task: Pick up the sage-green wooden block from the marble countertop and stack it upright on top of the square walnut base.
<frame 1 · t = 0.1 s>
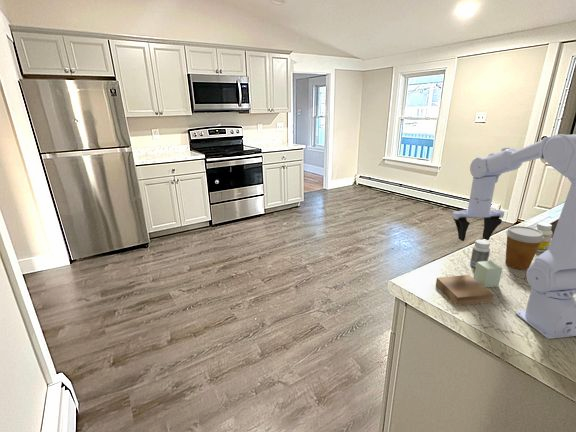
hand: (473, 239, 96), 10 cm above the worktop, tool pointing down, fingers open, 7 cm apart
sage block: (485, 282, 90), on the worktop
disposable coffee cup: (516, 265, 99), on the worktop
supplement bottle: (538, 249, 109), on the worktop
walnut base: (462, 293, 86), on the worktop
pill bottle: (478, 265, 100), on the worktop
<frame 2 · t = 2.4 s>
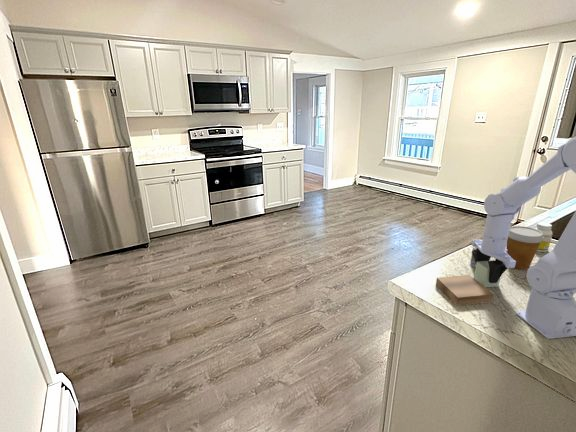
hand: (486, 277, 90), 2 cm above the worktop, tool pointing down, fingers closed on sage block, 4 cm apart
sage block: (485, 282, 90), on the worktop, touching gripper
everything else where it was.
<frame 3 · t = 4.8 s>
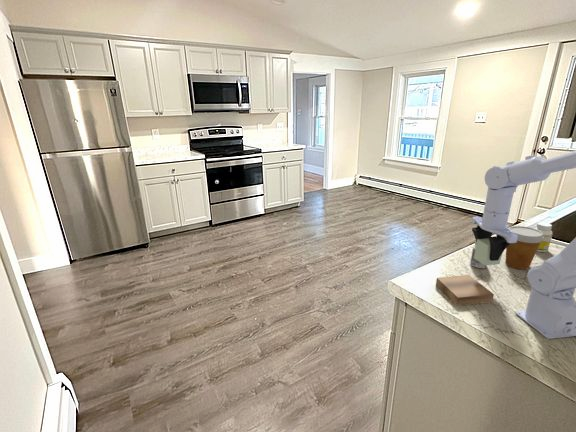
hand: (487, 255, 86), 9 cm above the worktop, tool pointing down, fingers closed on sage block, 4 cm apart
sage block: (486, 261, 87), point 8 cm above the worktop, touching gripper
everything else where it was.
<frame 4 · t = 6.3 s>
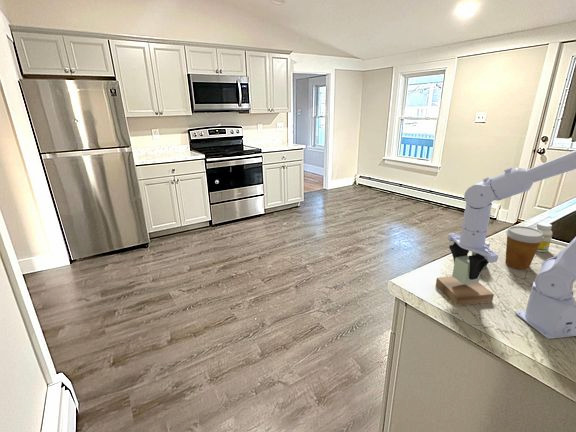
hand: (465, 273, 84), 6 cm above the worktop, tool pointing down, fingers closed on sage block, 4 cm apart
sage block: (465, 279, 84), point 5 cm above the worktop, touching gripper
everything else where it was.
when the fingers open (5 cm above the worktop, at t = 7.5 s): sage block stays where it is, resting on walnut base.
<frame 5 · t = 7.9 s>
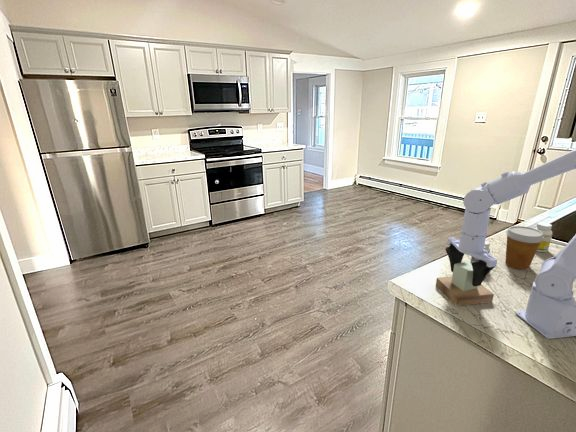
hand: (465, 278, 84), 5 cm above the worktop, tool pointing down, fingers open, 7 cm apart
sage block: (464, 285, 85), point 2 cm above the worktop, touching walnut base
everything else where it was.
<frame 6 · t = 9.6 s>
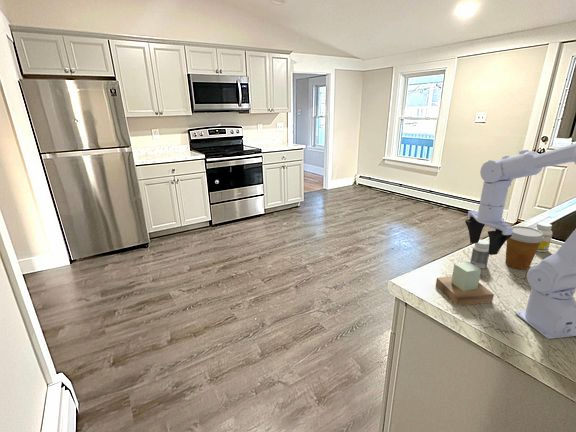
hand: (483, 248, 88), 10 cm above the worktop, tool pointing down, fingers open, 7 cm apart
nothing on the worktop moved.
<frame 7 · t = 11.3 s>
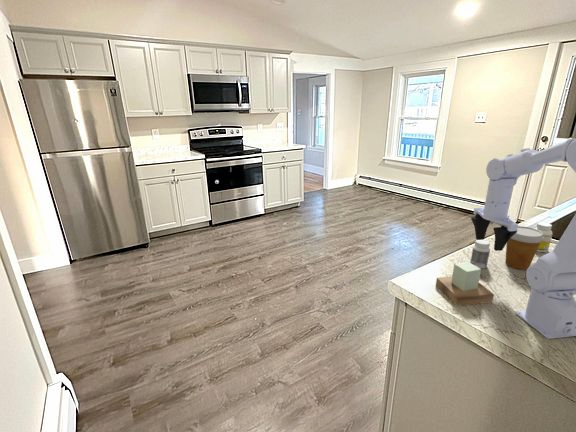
hand: (488, 244, 91), 10 cm above the worktop, tool pointing down, fingers open, 7 cm apart
nothing on the worktop moved.
at the end: sage block 0.1 cm off-centre on the walnut base, point 2.5 cm above the walnut base's base; sage block tilted 0°; the gripper is holding nothing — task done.
